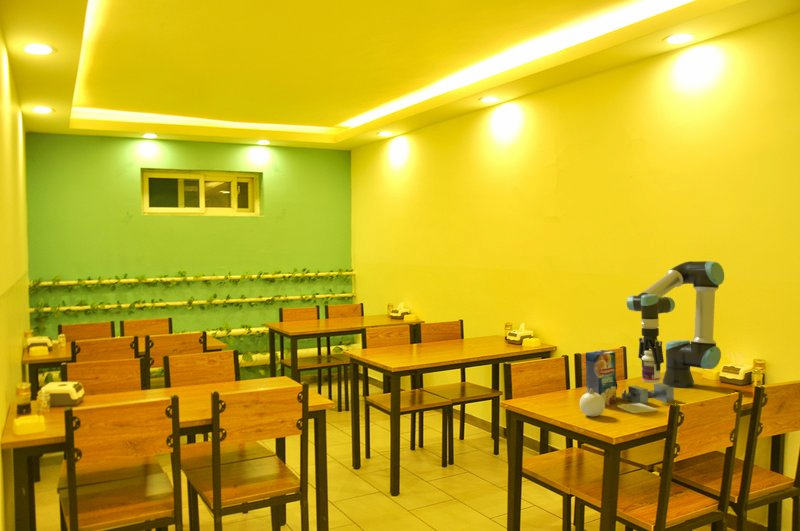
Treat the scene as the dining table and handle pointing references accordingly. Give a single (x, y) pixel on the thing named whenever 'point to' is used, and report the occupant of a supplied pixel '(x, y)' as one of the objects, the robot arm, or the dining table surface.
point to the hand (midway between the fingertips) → (651, 375)
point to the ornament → (592, 404)
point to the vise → (649, 393)
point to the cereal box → (601, 375)
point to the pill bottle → (648, 367)
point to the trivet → (636, 408)
